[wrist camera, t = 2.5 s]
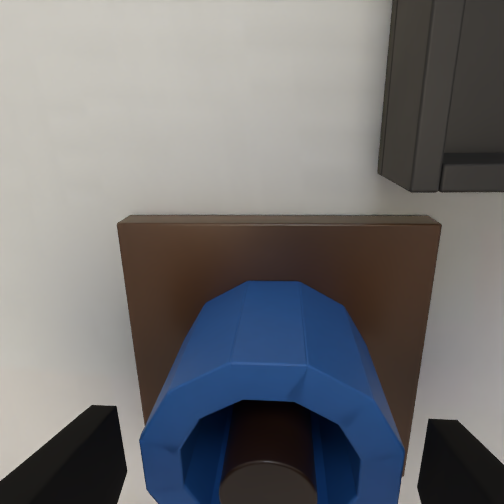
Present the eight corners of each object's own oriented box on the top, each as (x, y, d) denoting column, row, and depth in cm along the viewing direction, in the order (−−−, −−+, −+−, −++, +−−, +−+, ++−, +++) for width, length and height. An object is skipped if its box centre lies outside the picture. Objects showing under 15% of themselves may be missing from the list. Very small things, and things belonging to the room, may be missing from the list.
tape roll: (372, 281, 11) (419, 368, 7) (357, 436, 13) (388, 570, 9) (178, 278, 11) (126, 358, 7) (192, 428, 13) (155, 553, 9)
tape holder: (429, 215, 11) (562, 302, 6) (396, 453, 14) (463, 655, 9) (129, 214, 12) (3, 292, 6) (157, 441, 15) (87, 620, 9)
